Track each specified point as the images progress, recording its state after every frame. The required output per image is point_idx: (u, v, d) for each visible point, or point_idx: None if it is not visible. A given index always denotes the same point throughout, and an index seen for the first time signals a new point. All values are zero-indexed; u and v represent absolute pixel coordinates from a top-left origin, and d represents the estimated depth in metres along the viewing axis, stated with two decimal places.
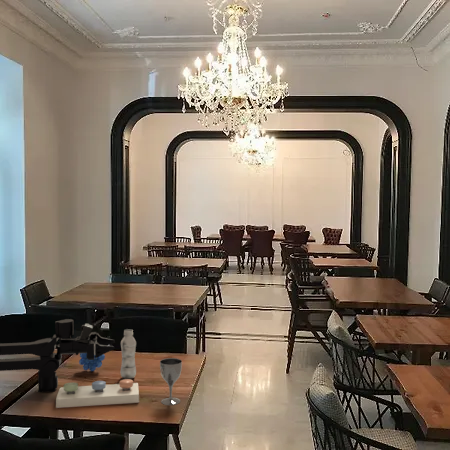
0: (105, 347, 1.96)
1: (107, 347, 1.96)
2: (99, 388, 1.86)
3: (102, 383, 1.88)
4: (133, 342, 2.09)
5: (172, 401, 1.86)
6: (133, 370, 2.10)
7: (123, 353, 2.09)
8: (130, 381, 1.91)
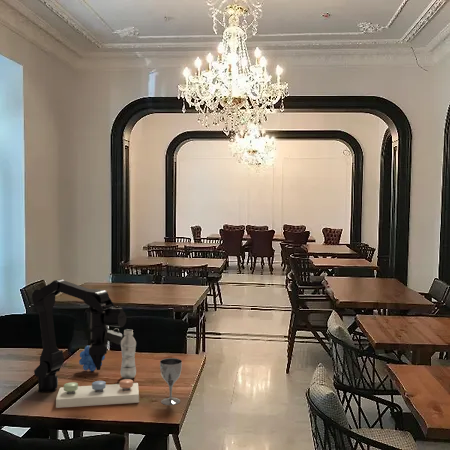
0: (100, 362, 1.84)
1: (99, 363, 1.84)
2: (99, 388, 1.86)
3: (102, 383, 1.88)
4: (133, 342, 2.09)
5: (172, 401, 1.86)
6: (133, 370, 2.10)
7: (123, 353, 2.09)
8: (130, 381, 1.91)
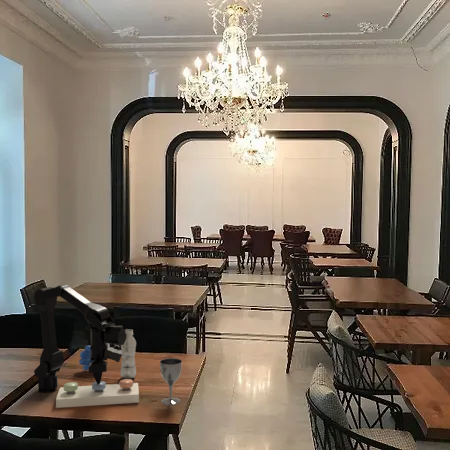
0: (100, 376, 1.88)
1: (99, 377, 1.88)
2: (99, 388, 1.86)
3: (102, 383, 1.88)
4: (133, 342, 2.09)
5: (172, 401, 1.86)
6: (133, 370, 2.10)
7: (123, 353, 2.09)
8: (130, 381, 1.91)
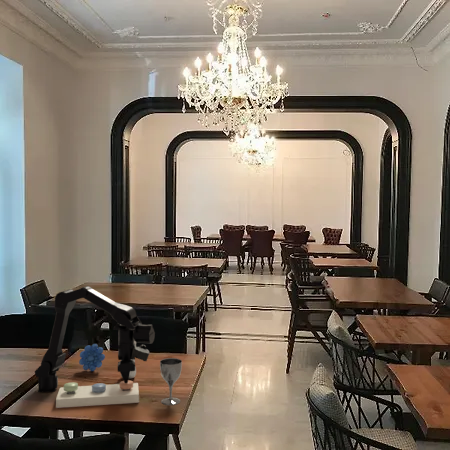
0: (128, 375, 1.90)
1: (126, 376, 1.90)
2: (99, 391, 1.86)
3: (102, 385, 1.88)
4: None
5: (172, 401, 1.86)
6: None
7: None
8: (130, 382, 1.91)
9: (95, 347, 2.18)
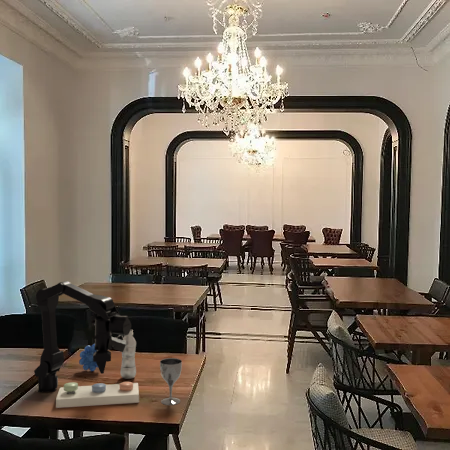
0: (104, 365, 1.88)
1: (103, 367, 1.88)
2: (99, 391, 1.86)
3: (102, 385, 1.88)
4: (133, 342, 2.09)
5: (172, 401, 1.86)
6: (133, 370, 2.10)
7: (123, 353, 2.09)
8: (130, 383, 1.91)
9: None
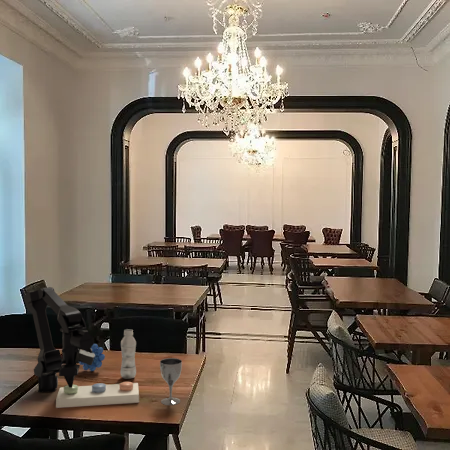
0: (72, 379, 1.86)
1: (71, 380, 1.86)
2: (99, 391, 1.86)
3: (102, 385, 1.88)
4: (133, 342, 2.09)
5: (172, 401, 1.86)
6: (133, 370, 2.10)
7: (123, 353, 2.09)
8: (130, 383, 1.91)
9: (95, 347, 2.18)
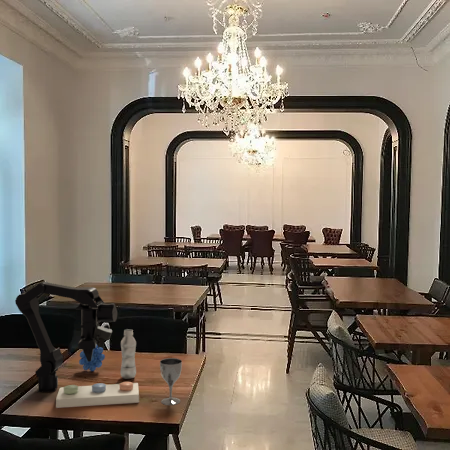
0: (91, 353, 1.94)
1: (90, 355, 1.94)
2: (99, 391, 1.86)
3: (102, 385, 1.88)
4: (133, 342, 2.09)
5: (172, 401, 1.86)
6: (133, 370, 2.10)
7: (123, 353, 2.09)
8: (130, 383, 1.91)
9: None
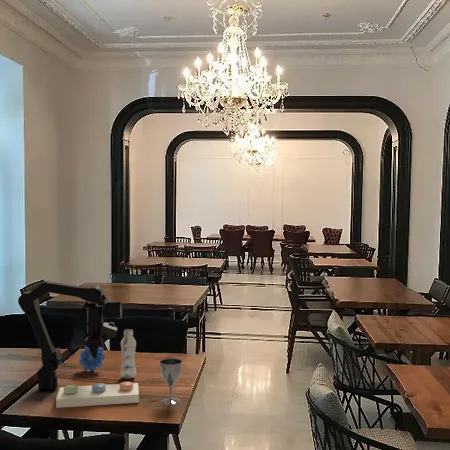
0: (96, 351, 1.98)
1: (95, 352, 1.98)
2: (99, 391, 1.86)
3: (102, 385, 1.88)
4: (133, 342, 2.09)
5: (172, 401, 1.86)
6: (133, 370, 2.10)
7: (123, 353, 2.09)
8: (130, 383, 1.91)
9: None
